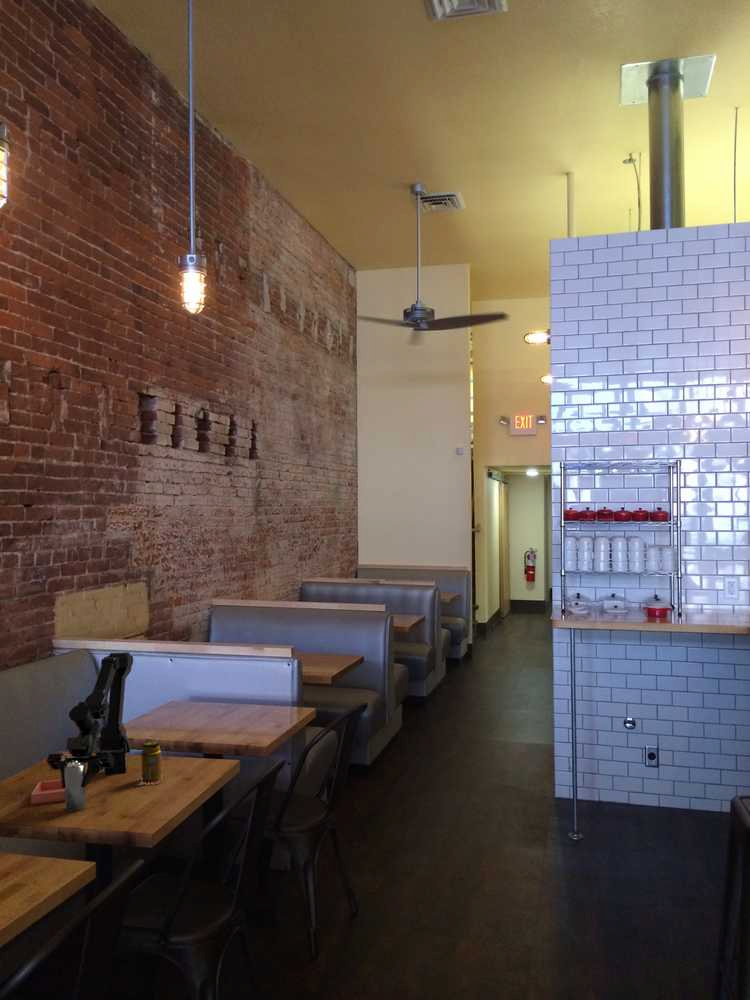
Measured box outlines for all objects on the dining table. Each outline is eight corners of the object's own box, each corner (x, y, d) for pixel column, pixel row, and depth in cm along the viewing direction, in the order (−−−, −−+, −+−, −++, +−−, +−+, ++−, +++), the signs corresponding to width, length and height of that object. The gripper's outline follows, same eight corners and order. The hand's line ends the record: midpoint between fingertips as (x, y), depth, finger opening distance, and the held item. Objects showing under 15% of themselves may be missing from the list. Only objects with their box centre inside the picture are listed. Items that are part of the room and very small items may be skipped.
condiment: (165, 775, 255) (164, 739, 255) (159, 785, 246) (157, 746, 246) (143, 777, 254) (141, 740, 255) (135, 786, 246) (134, 748, 246)
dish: (78, 787, 247) (78, 777, 247) (72, 800, 236) (72, 790, 236) (39, 791, 245) (39, 781, 245) (31, 804, 234) (31, 794, 234)
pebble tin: (87, 803, 232) (85, 757, 232) (84, 810, 227) (82, 763, 227) (67, 806, 231) (65, 759, 231) (64, 813, 226) (62, 765, 226)
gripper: (47, 726, 233) (31, 775, 222) (109, 723, 233) (96, 773, 222) (60, 744, 241) (45, 793, 230) (119, 742, 241) (108, 791, 230)
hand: (73, 787), depth 228 cm, fingers closed on pebble tin, 6 cm apart
